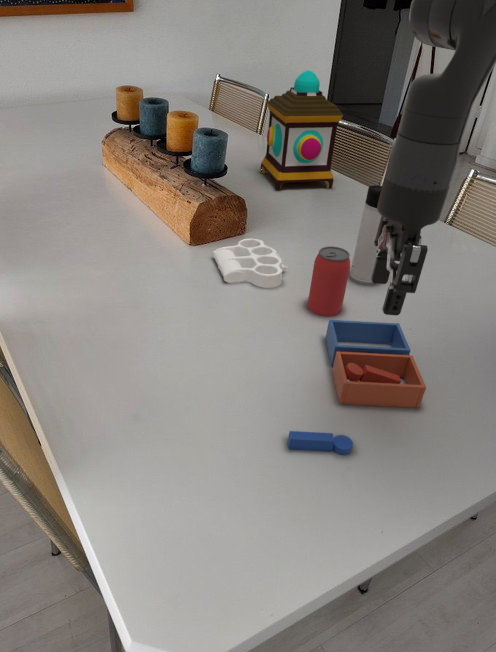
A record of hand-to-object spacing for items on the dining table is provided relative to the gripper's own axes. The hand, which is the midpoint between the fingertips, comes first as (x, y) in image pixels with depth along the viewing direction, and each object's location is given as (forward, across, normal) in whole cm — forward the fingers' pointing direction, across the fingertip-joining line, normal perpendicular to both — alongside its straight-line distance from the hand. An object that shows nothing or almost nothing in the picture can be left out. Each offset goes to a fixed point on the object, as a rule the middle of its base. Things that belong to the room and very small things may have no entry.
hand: (384, 297), depth 74 cm
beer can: (+18, +26, +2) cm, 32 cm away
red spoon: (+16, +2, -2) cm, 16 cm away
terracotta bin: (+18, +2, -3) cm, 18 cm away
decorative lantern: (+18, +101, +4) cm, 103 cm away
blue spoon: (+18, -12, +7) cm, 23 cm away
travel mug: (+18, +40, -7) cm, 44 cm away
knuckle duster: (+18, +41, +17) cm, 48 cm away
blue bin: (+18, +12, -3) cm, 22 cm away
